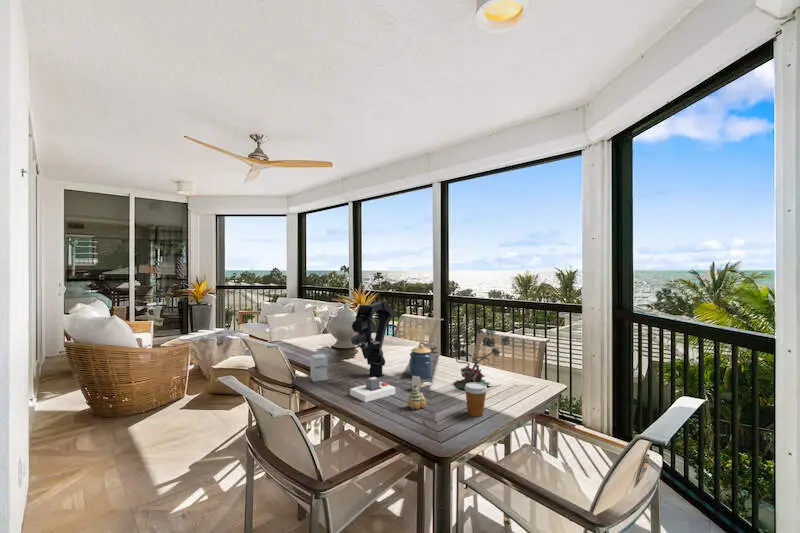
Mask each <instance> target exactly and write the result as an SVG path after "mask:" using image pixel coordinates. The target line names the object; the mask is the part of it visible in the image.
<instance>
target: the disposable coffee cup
mask: <svg viewBox="0 0 800 533" xmlns="http://www.w3.org/2000/svg"><path fill="white" fill-rule="evenodd" d="M463 390H464V391H465V400H466V408H467V410H466V411H467V414H468V415H469V416H472V417H481V416H484V408H485V402H486V396H487V391H488V387H487V388H486V385H484V384H482V383H477V382H470V383H467V384H466V385H465V387H464V389H463Z"/></svg>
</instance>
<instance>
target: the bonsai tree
mask: <svg viewBox="0 0 800 533" xmlns="http://www.w3.org/2000/svg"><path fill="white" fill-rule="evenodd" d="M481 328H483V326H482V325H481V326H480V325H477V326H476V327H475V330H474V333H475V334H477V333H478V335H479V334H480V335H481V333H484V331H483V329H481ZM485 333H486V334H487V336H485V337H484V336H482V337H483V339H482V346H485V345H486V346H485V347H486V348H487V347H489V348H491V351H490V352H489V353H488V354H487V355H485V354H484V352H483V348H481V352H482V356H476V357H475V358H473V357H471V355H470V354H469V352H468V350H464V349H463V348H464V347H463V345H462V344H461V342H460V341H457V340H456V341H454V342H453V346H452V348H453V349H454V351H456V350H458V351H459V354H457V355H453V357H455V362H456V363H458V364H467V365H465V367H464V366H463V367H461V368H460V369H461V370H460V373H461V378H463V379H461V380H456V381H454V382H452V384H454V385H455V387H456V388H459V389H460V390H465V389H464V387H465V385H466V384H467V383H470V382H477V383H482V384H484V385H486V387H487V386H488V385H489V383H490V382H487V381H486V379H483V378H485V377H486V375H484V374H483V373H482V370H481V369H480V365H479V363H480V362H481V361H483V360H487V364H488V365H490V366H494V367H495V366H496V367H497V366H498V367H499V366H500V365H501V361H499V360H498V361H495V363H496V364H491V363H489V362H490V359H489V358H488V357H489V356H490V355H491V354H492V355H494V357H495V358H497V357H500V356H501V355H500V354H501V352H500V351H499V350H500V349H499V348H498V347H495V340H494V338H493V337H492V336H493V334H494V335H496V330H494V328H493V327H491V326H490V327H489V326H488V327H486V329H485ZM490 335H491V336H490ZM501 340H502V341H501V342H500V344H501V343H502V344H503V345H505V346H507V345H511V344H510V342H511V341H510V338H509V336H508V335H506V336H505V337H503V338H502V339H501ZM493 347H495V348H493ZM459 355H460V358H463V357H465V359H468V357H469V358H470V359H471V360H473V362H474V364H473V365H472V368H471V367H470V366H471V364H470V363H469V362H468V361H458V357H457V356H459ZM477 359H479V360H477ZM497 363H499V364H497ZM487 388H488V387H487Z"/></svg>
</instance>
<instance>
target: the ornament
mask: <svg viewBox="0 0 800 533" xmlns="http://www.w3.org/2000/svg"><path fill="white" fill-rule="evenodd" d="M406 402H407V404H406V405H407V407H408V408H410V409H412V410H419V409H424V408H425V407H426V405H427V400H426V398H425V396H424V393H423V392H422V391H420V392H419V391H418V388H417V385H415V386H414V388H413V389H412V388H411V392H410V395H409V396H408V399H407V401H406Z"/></svg>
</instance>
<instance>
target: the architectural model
mask: <svg viewBox="0 0 800 533" xmlns="http://www.w3.org/2000/svg"><path fill="white" fill-rule="evenodd" d="M419 377H420V376H418V377H416V376H413V375H412V377H411V378H412V379H411V380H412V381H411V386H412V387H411V390H412V389H413V388H414V386H415V385H417V388H418V391H419V392H421V388H422V387H426V386H427V384H426V383H423V382H421V378H419Z"/></svg>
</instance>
